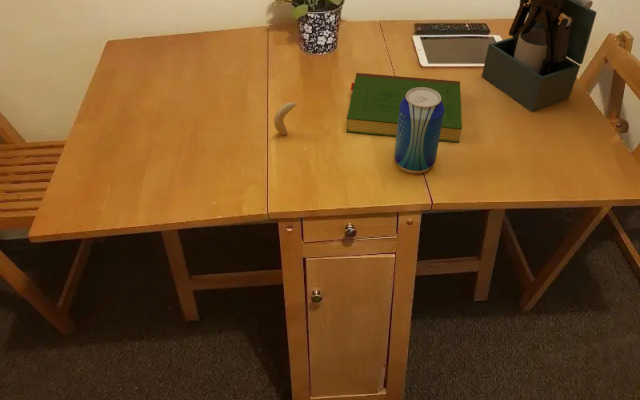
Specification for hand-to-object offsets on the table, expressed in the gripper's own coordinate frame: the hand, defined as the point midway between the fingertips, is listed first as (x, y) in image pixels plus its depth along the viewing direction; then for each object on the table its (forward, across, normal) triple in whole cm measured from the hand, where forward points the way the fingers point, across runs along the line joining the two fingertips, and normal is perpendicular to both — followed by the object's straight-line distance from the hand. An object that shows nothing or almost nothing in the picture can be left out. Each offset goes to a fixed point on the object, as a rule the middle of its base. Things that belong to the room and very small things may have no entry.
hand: (527, 75), depth 138 cm
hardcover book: (+4, -5, -32) cm, 33 cm away
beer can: (+4, +11, -40) cm, 42 cm away
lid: (-12, 0, +5) cm, 13 cm away
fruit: (+4, -10, -59) cm, 60 cm away
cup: (0, 0, 0) cm, 0 cm away
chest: (+3, 0, 0) cm, 3 cm away
